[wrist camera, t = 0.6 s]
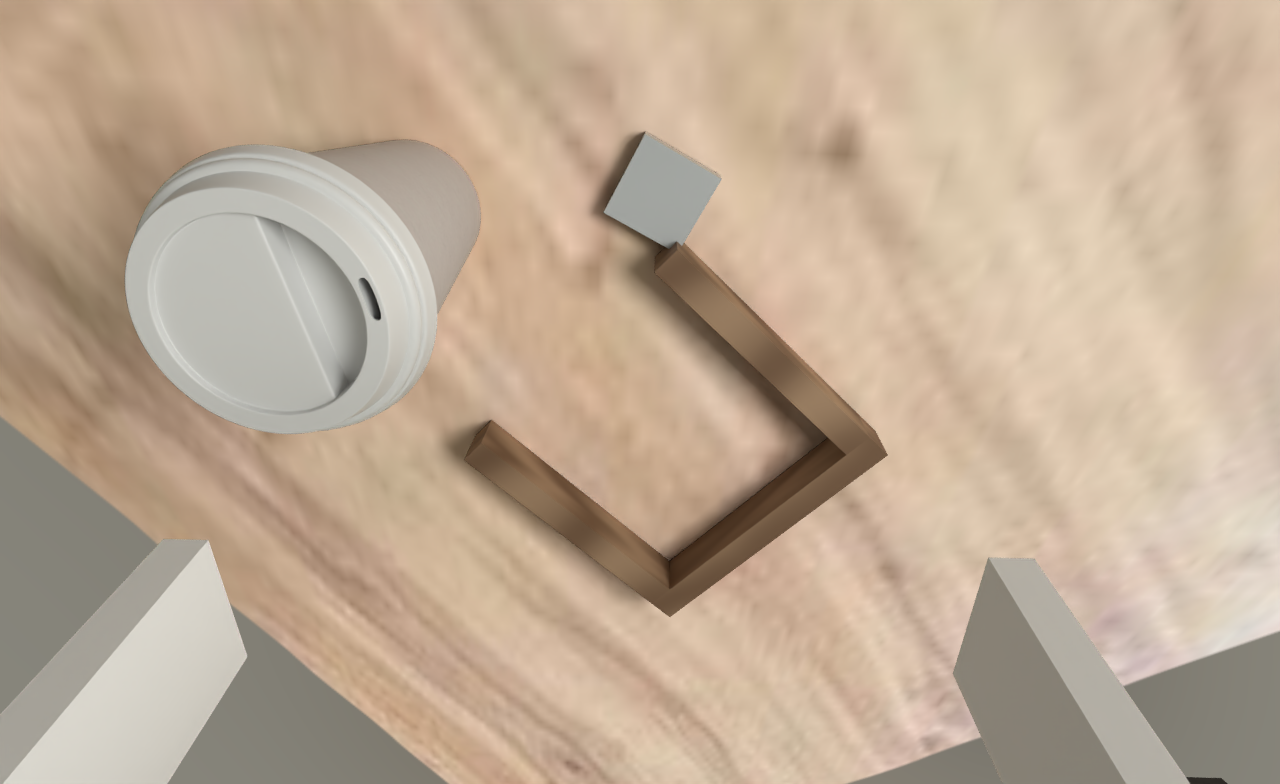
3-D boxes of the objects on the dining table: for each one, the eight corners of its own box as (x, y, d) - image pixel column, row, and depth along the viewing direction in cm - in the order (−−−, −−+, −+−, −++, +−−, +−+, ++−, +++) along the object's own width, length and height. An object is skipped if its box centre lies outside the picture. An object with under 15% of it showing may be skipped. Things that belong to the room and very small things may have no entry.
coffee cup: (502, 318, 38) (410, 479, 24) (317, 283, 37) (118, 428, 24) (523, 127, 33) (425, 193, 20) (314, 84, 33) (69, 123, 19)
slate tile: (605, 208, 35) (603, 212, 34) (645, 131, 33) (645, 134, 32) (677, 248, 36) (677, 253, 35) (720, 175, 34) (721, 178, 33)
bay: (475, 436, 41) (464, 460, 39) (676, 235, 35) (677, 249, 33) (669, 588, 45) (669, 617, 43) (875, 431, 40) (887, 455, 38)
